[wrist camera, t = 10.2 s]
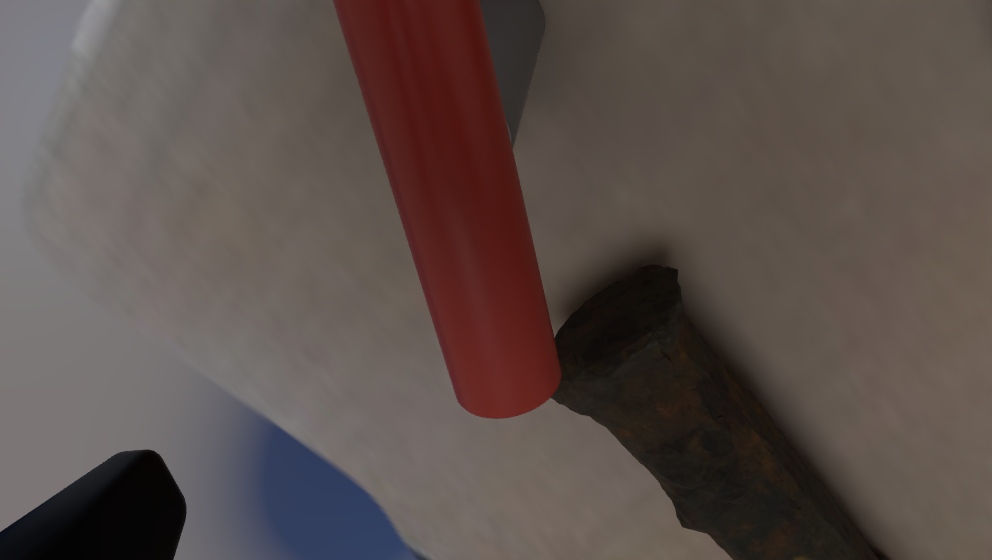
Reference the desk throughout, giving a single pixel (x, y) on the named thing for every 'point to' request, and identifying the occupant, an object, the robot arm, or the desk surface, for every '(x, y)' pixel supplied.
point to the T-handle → (462, 181)
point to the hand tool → (695, 425)
